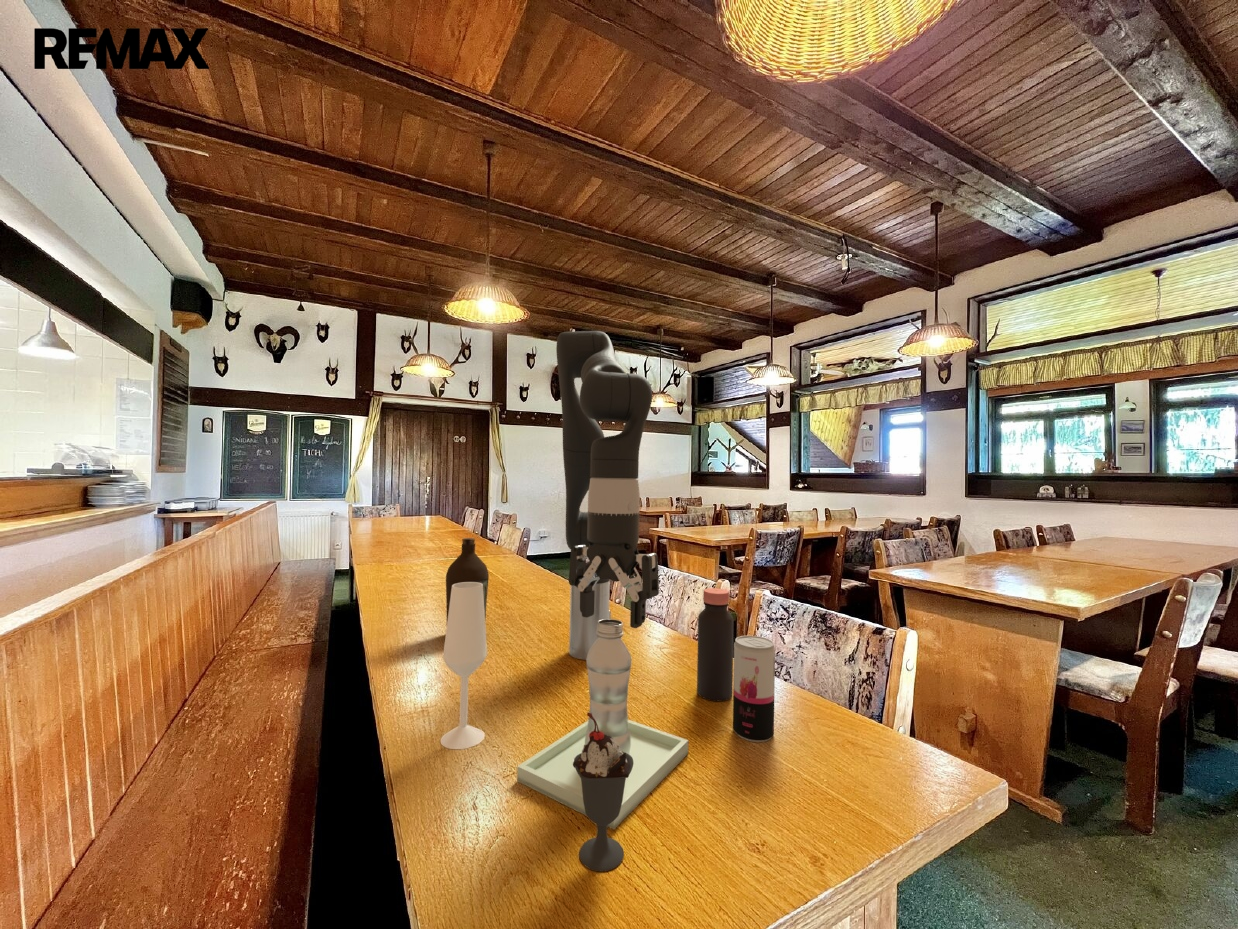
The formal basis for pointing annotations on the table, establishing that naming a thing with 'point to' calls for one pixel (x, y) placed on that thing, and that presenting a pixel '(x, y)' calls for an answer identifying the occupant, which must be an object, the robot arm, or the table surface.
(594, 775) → the sundae
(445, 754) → the table surface
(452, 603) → the champagne flute
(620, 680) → the silver metal bottle
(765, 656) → the beverage can
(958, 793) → the table surface
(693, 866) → the table surface
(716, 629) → the dark grey water bottle
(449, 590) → the olive oil
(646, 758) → the tray
